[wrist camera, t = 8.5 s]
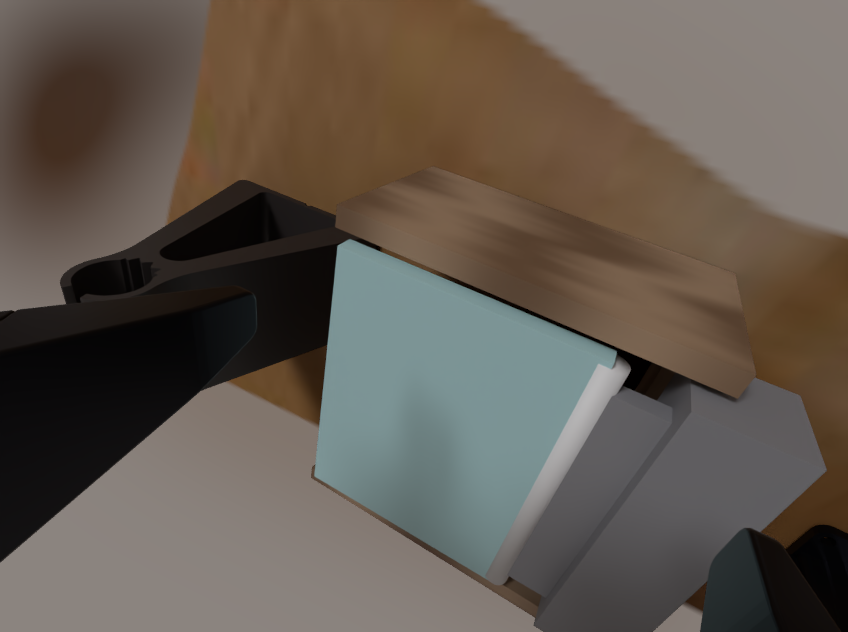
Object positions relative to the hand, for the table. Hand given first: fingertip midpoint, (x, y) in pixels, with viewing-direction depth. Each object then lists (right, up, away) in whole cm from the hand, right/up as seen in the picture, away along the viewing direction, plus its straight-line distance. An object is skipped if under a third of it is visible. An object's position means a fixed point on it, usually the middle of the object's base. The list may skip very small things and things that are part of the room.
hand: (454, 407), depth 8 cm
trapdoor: (+3, -3, +10) cm, 11 cm away
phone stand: (-7, +5, +18) cm, 20 cm away
